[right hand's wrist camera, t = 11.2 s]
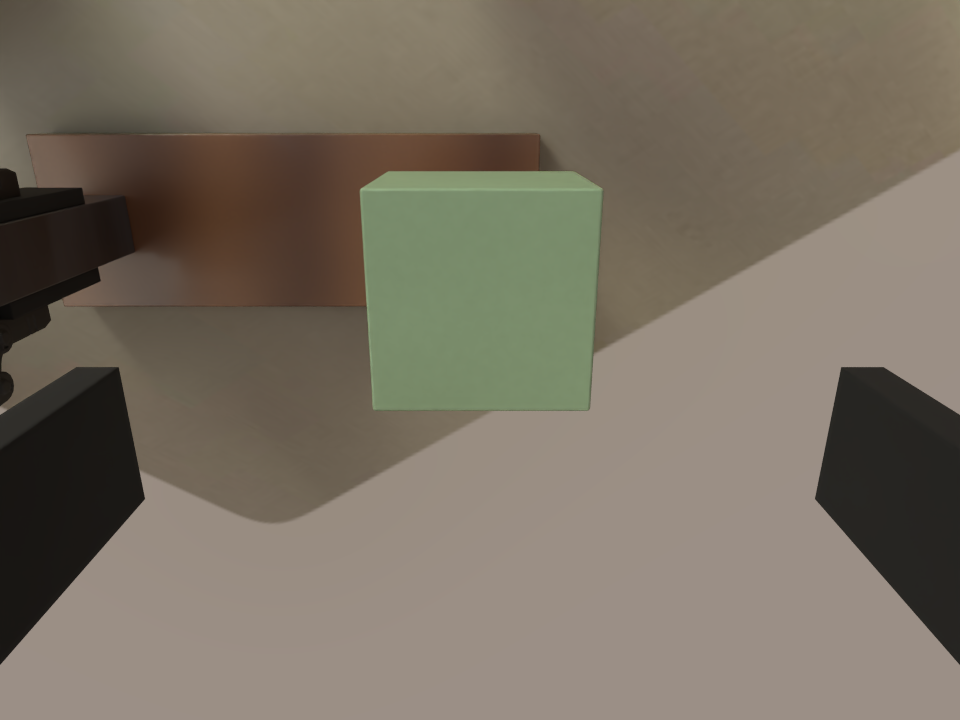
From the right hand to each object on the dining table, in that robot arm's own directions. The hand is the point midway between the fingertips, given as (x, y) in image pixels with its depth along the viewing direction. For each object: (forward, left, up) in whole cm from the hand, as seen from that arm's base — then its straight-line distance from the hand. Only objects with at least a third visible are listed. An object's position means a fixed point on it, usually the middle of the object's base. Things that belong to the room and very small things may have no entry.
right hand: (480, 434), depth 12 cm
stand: (-10, 0, -26) cm, 28 cm away
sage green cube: (0, 0, -14) cm, 14 cm away
